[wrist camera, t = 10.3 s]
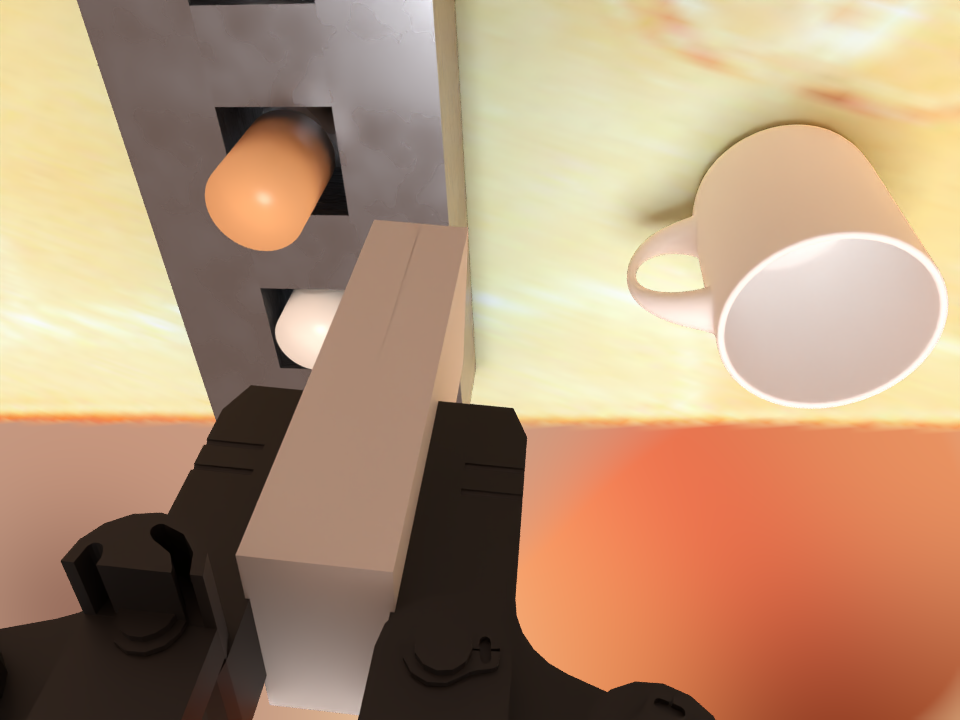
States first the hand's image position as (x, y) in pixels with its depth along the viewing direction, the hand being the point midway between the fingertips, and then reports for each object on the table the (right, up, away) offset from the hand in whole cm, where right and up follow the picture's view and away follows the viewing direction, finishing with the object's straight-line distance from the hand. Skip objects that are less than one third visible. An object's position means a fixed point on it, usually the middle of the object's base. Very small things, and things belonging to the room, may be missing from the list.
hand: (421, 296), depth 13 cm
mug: (+14, +7, +27) cm, 32 cm away
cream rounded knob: (-7, +3, +30) cm, 31 cm away
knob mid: (-7, +8, +22) cm, 25 cm away
